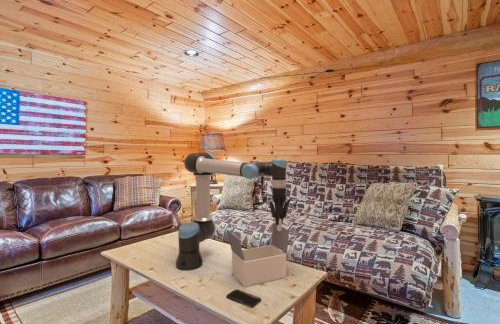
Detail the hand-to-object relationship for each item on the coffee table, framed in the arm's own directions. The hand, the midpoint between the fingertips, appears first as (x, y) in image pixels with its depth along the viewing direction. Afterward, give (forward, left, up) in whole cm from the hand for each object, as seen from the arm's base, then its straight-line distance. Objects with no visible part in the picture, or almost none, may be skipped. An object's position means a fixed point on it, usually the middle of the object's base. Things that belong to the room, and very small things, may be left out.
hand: (279, 230), depth 155 cm
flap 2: (0, 0, -4) cm, 4 cm away
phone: (+17, -29, -23) cm, 41 cm away
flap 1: (0, -25, -4) cm, 26 cm away
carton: (0, -12, -23) cm, 26 cm away
